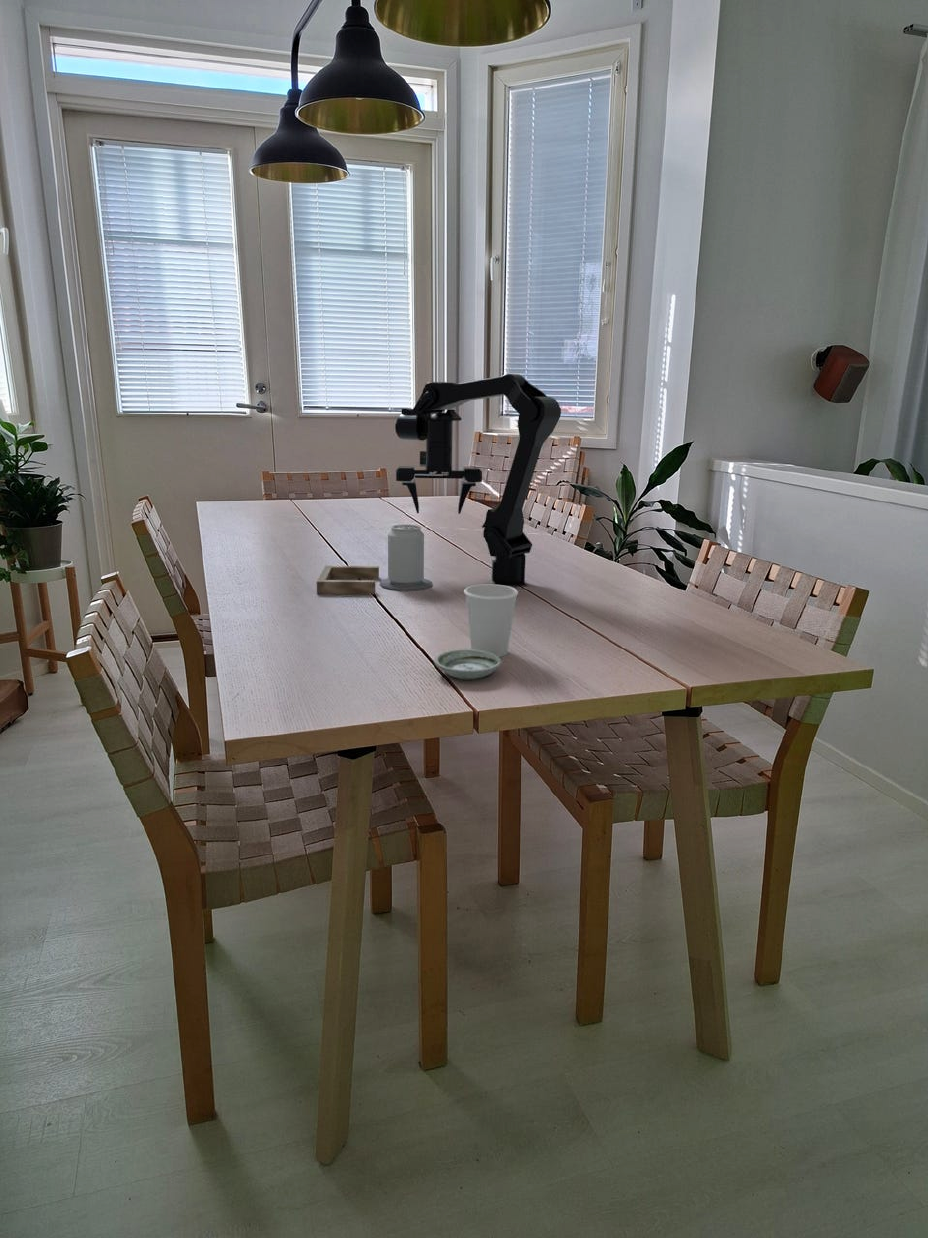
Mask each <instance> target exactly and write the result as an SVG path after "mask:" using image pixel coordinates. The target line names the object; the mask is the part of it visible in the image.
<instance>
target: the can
mask: <svg viewBox="0 0 928 1238" xmlns="http://www.w3.org/2000/svg"><path fill="white" fill-rule="evenodd" d="M390 529H391V530H390V531H389V532H388V533H387V575H388V576H387V579H389V580H390V581H391V582H392V583H393V584H395V585H400V586H413V585H417V584H419V583H420V582H421V581H422V580H423V579H425V578H424V577H425V572H424V571H425V534H424V532H422V527H421V526H420V525H416V524H394V525H392V526H391V527H390Z"/></svg>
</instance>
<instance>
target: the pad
mask: <svg viewBox="0 0 928 1238" xmlns="http://www.w3.org/2000/svg"><path fill="white" fill-rule="evenodd" d="M379 586H380V587H381V588H383V589H386V590H391V591H398V590H406V591H405V592H408V591H409V592H411V591H410V590H415V591H421V590H426V589H430V588H432V586H433V582H432V580H430V579H427V578H424V579H423V580H422V581H421V582H420V583H419V584H417V585H413V586H400V585H395V584H393V583H392V582H391V581H390V580H389V579H388V578H385V579H382V580H380V581H379Z"/></svg>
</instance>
